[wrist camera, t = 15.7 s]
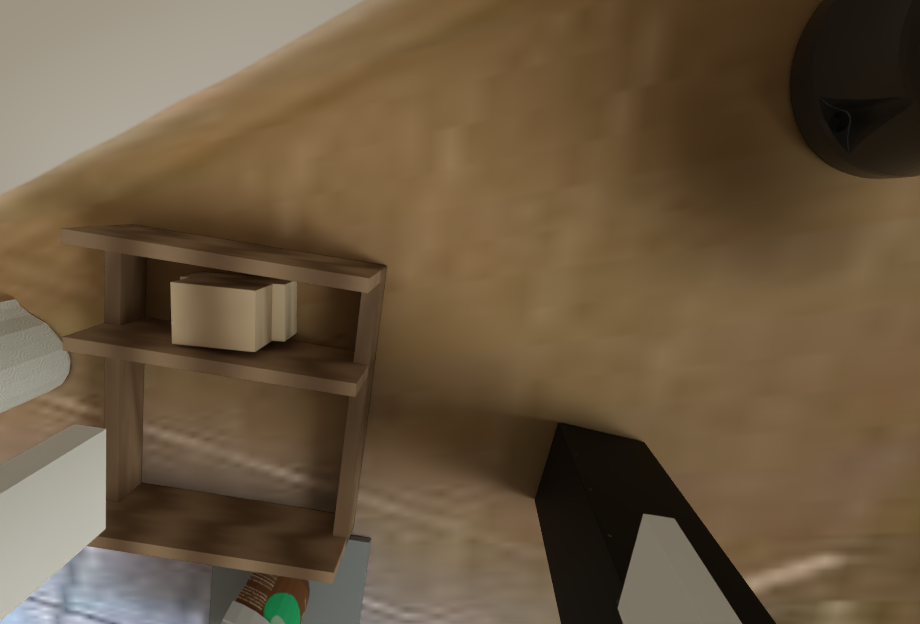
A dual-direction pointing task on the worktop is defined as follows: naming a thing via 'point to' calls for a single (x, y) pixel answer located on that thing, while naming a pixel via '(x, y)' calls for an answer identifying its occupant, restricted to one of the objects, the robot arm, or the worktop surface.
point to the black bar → (616, 525)
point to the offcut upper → (221, 313)
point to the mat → (328, 606)
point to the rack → (282, 363)
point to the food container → (269, 601)
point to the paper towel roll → (28, 356)
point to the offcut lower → (281, 301)
